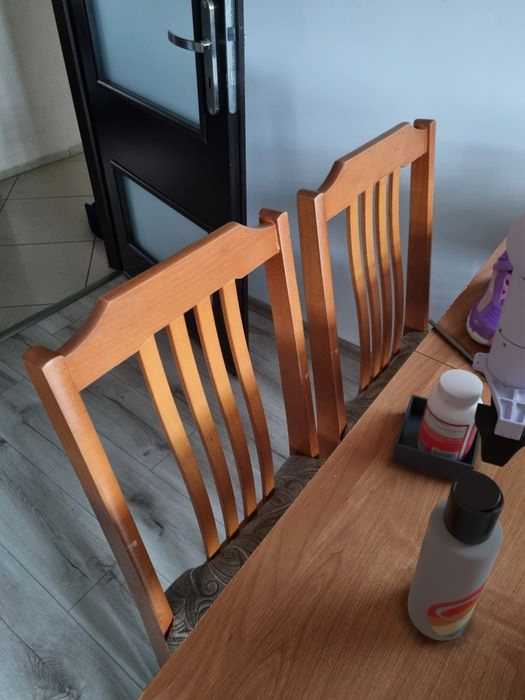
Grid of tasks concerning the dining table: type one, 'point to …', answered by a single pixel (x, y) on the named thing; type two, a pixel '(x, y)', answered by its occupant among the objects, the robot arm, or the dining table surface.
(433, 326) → the rod
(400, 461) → the box
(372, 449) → the dining table surface
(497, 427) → the robot arm
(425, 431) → the pill bottle
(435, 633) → the black capped bottle
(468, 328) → the running shoe
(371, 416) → the dining table surface
